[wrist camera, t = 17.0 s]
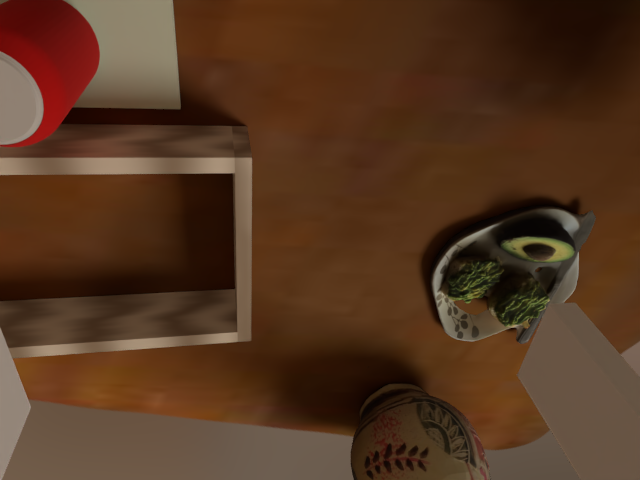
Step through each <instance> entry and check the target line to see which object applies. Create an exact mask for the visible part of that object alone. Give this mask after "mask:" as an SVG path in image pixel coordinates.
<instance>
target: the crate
mask: <svg viewBox="0 0 640 480" xmlns="http://www.w3.org/2000/svg"><path fill="white" fill-rule="evenodd" d="M202 173H233V215H234V267H235V289H226V290H206V291H187V292H168V293H149V294H129V295H110V296H91V297H72V298H52V299H33V300H14V301H0V328H1V331H2V333H3V336H4V339H5V341H6V344H7V346H8V349H9V352H10V354H11V357H12V358H23V357H37V356H51V355H64V354H78V353H92V352H105V351H119V350H133V349H147V348H160V347H174V346H188V345H202V344H215V343H229V342H243V341H251V251H252V155H251V148H250V142H249V136H248V129H247V126H192V125H109V124H60V125H59V127H58V128H57V129H56V130H55V131H54V132H53V133H52V134H51V135H50V136H48V137H47V138H45V139H44V140H42V141H40V142H38V143H35V144H32V145H28V146H23V147H1V146H0V175H46V174H202Z"/></svg>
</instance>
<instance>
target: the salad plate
mask: <svg viewBox="0 0 640 480" xmlns="http://www.w3.org/2000/svg"><path fill="white" fill-rule="evenodd" d="M595 218H596V217H595V215H594V214H593V211H590V212H588V213H585V214H581V215H579V214H574V213H571V212H569V211H567V210H565V209H562V208H559V207H555V206H531V207H526V208H522V209H518V210H513V211H510V212H507V213H504V214H501V215H499V216H496V217H493V218H490V219H487V220H484V221H481V222H478V223H476V224H474V225H472V226H470V227H468V228H466V229H465V230H463V231H461V232H460V233H458V234H457V235H456V236H454V237H453V238H452V239H451V240H450V241H449V242H448V243H447V244H446V245H445V246H444V247H443V248H442V250H441V251H440V253H439V254H438V256H437V257H436V259H435V261H434V264H433V266H432V269H431V276H430V289H431V292H432V294H433V296H434V299H435V303H436V307H437V311H438V315H439V318H440V321H441V324H442V326H443V329H444V331H445V332H446V333H447V334H448V335H449V336H451V337H453V338H455V339H458V340H463V341H476V340H480V339H483V338H486V337H488V336H491V335H493V334H496V333H498V332H501V331H504V330H506V329H509V328H516V329H517V337H516V340H517V342H519V343H520V344H523V343H526V342H528V340H529V339H530V338H531V336H532V334H533V332H534V331H535V329H536V327H537V325H538V323H539V322H540V320H541V318H542V317H543V316H544V314H545V311H546V309H547V307H548V305H549V304H557V303H564V302H565V301H566V300H567V299H568V297H569V296H570V295H571V294H572V293H573V291H574V290H575V287H576V285H577V279H578V268H579V266H578V263H579V251H580V248H581V246H582V244H583V243H585V242H586V240H587V238H588V236H589V234H590V232H591V229H592V227H593V225H594V222H595ZM473 244H474V245H473ZM538 267H542V270H541V271H539V272H535V270H536V269H537V268H538ZM483 296H487V297H488V300H487V310H486V311H484V312H482V313H480V314H478V315H472V314H468V313H466V312H464V311H462V310H460V309H459V308H458V307H457V306H456V304H455V303H454V302H453V301H457V300H461V299H462V300H465V303H470V302H471V299H472V298H482V297H483Z"/></svg>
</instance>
